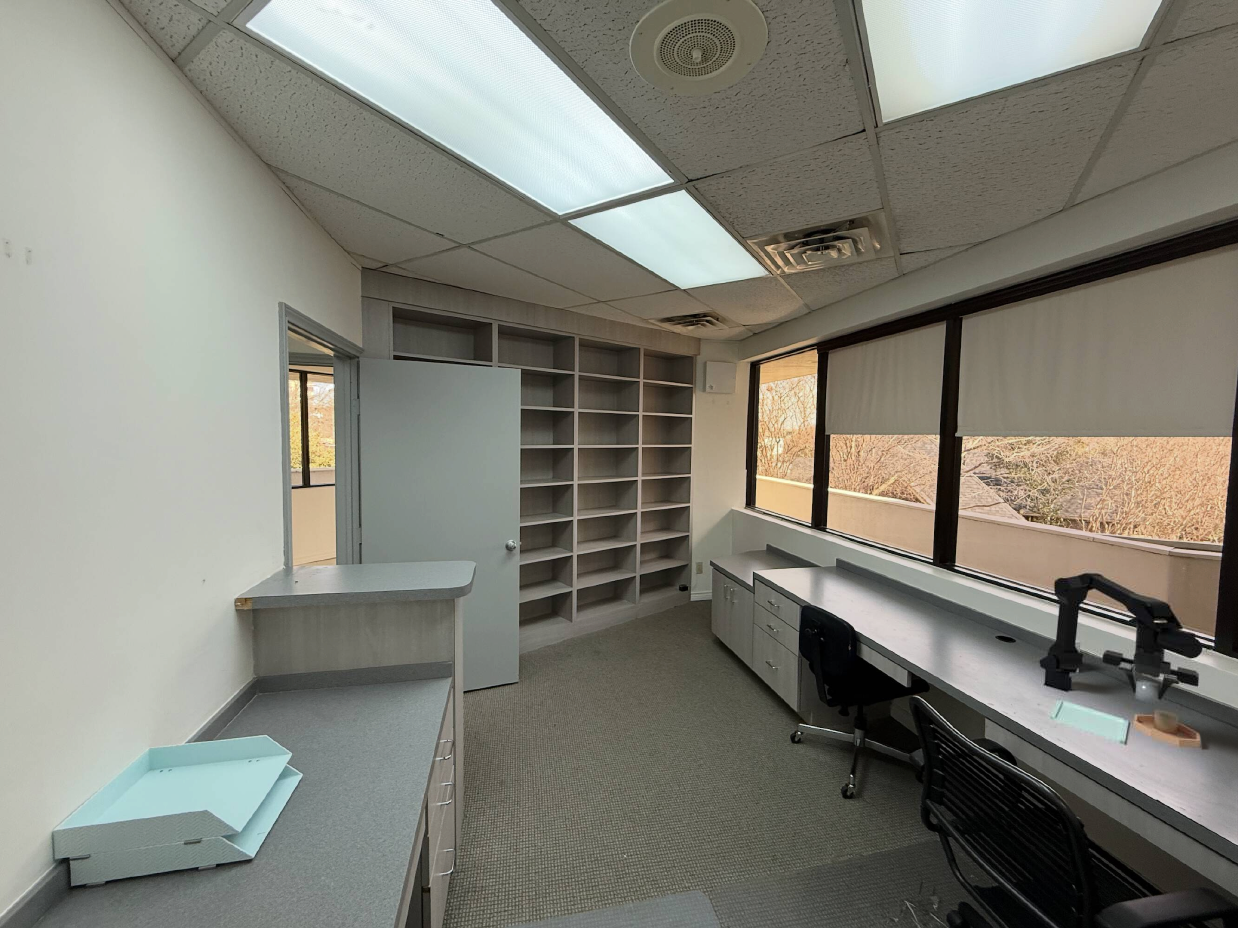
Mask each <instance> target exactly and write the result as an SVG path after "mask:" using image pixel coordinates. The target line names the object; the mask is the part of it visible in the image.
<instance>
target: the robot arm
mask: <svg viewBox="0 0 1238 928" xmlns="http://www.w3.org/2000/svg"><path fill="white" fill-rule="evenodd" d="M1053 588H1054V595H1055V596H1056V598H1057V600H1058V602H1059V607H1058V616H1057V627H1056V634H1055V641H1054V643H1052V644H1051V646H1049V648H1048V652H1047V655H1046V656H1045V657H1043V658H1041V659H1040V660H1039V661H1038V662H1039V666H1040V668H1041V669H1044V670H1045V671H1044V682H1043V686H1046V687H1048V688H1052V689H1055V690H1059V691H1062V692H1066V693H1069V692H1070V691H1072V689H1073V676H1072V675H1071V674H1077V673H1076V672H1077V670H1078V668H1079V669H1080V668H1081V666H1082V665H1084V664H1083V663H1084V662H1083V658H1084V655H1083V654H1084V653H1082V652H1081V651H1080V652H1079V651H1078V650H1077V648H1076V646H1075V643H1076V640H1077V631H1078V630H1077V629H1078V622H1079V620H1078V619H1079V611H1080V606H1081V605H1082V604H1083V602H1084V601H1085V600H1086V599H1087V597H1088V594H1089V593H1088V592H1089V591H1092V590H1096V591H1098V592H1100V593H1101V594H1104V595H1105V596H1107V597H1109V598H1110V599H1113V600H1115V601H1116V602H1118V603H1120V604H1122V605H1123V606H1124V607H1125V608H1126V609H1127V612H1129V613H1130V614H1132V615H1133V616H1134V617H1133V618H1130V619H1129V620H1128V622H1129V623H1131V624H1134V625H1136V630H1135V631H1136V632H1135V633H1136V634H1135V645H1134V646H1135V647H1134V648H1135V650H1134V654H1133V659H1131V658H1128V657H1124V653H1122V652H1117V651H1114V650H1109V649H1107V650H1104V652H1103V654H1102V663H1103V664H1106V665H1110V666H1115V667H1118V670H1119V671H1123V672H1124V673H1125V675H1126V677H1127V679H1128V682H1129V684H1130V686H1131V690H1132V693H1134V694H1135V693H1136V680H1137V679H1136V673H1137V674H1139V675H1142V674H1143V675H1146V676H1150V677H1152V678H1156V679H1157V678H1160V677H1161V676H1160V675H1163V678H1162V681H1161V685H1160V687H1159V701H1161V700H1162V699H1163V697H1164V695H1165V693H1167V691H1168V689H1169V688H1170V687H1171V686H1172V685H1173V684H1174V685H1179V684H1180V683H1181V684H1185V685H1188V686H1193V687H1199V680H1200V674H1199V673H1198V671H1197V670H1193V669H1189V668H1185V667H1181V666H1177V669H1174V668H1171V665H1172V662H1170V661H1166V660H1165V650H1166V651H1168V652H1171V653H1174V654H1176V655H1178V656H1181V657H1185V658H1188V659H1196V658H1198V657H1199V656H1200V655H1201V654H1202V652H1203V646H1202V643H1201V642H1200V640H1199V639H1198V638H1196V633H1194V632H1191V631H1186V630H1183V629H1184V627H1183V626H1182V624H1181V622H1180V621H1179V619H1178V618H1177V616H1176V615H1175V613H1174V611H1173V610H1172V608H1171V605H1169V603H1167V602H1166V601H1163V600H1161V599H1158V598H1154V597H1151V596H1146V595H1142V594H1138V593H1137V592H1134V591H1132V590H1131V589H1128V588H1126V587H1125V586H1122V585H1120V584H1119V583H1116V582H1114V581H1113V580H1110V579H1109V578H1107V577H1104V575H1102V574H1100V573H1097V572H1084V573H1081V574H1079V575H1074V576H1070V577H1059V578H1057V579H1055V580H1054V583H1053Z"/></svg>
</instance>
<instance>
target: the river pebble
mask: <svg viewBox="0 0 1238 928" xmlns="http://www.w3.org/2000/svg"><path fill="white" fill-rule="evenodd" d="M1178 723H1179V716H1178V715H1177V714H1175V713H1174V712H1171V711H1168V710H1165V709H1154V728H1155V729H1157V730H1159V731H1161V732H1164V733H1167V734H1172V735H1176V734H1177V728H1178Z"/></svg>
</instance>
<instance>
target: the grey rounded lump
mask: <svg viewBox="0 0 1238 928" xmlns="http://www.w3.org/2000/svg"><path fill="white" fill-rule="evenodd" d="M1159 692H1160V685H1159V684H1158V683H1156V682H1153V681H1150V680H1146V679H1141V678H1140V679H1136V693H1134V694H1135V695H1134V698H1135V699H1137V700H1138V701H1140V702H1143V703H1147V704H1151V705H1158V704H1159V701H1160V700H1159Z"/></svg>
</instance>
